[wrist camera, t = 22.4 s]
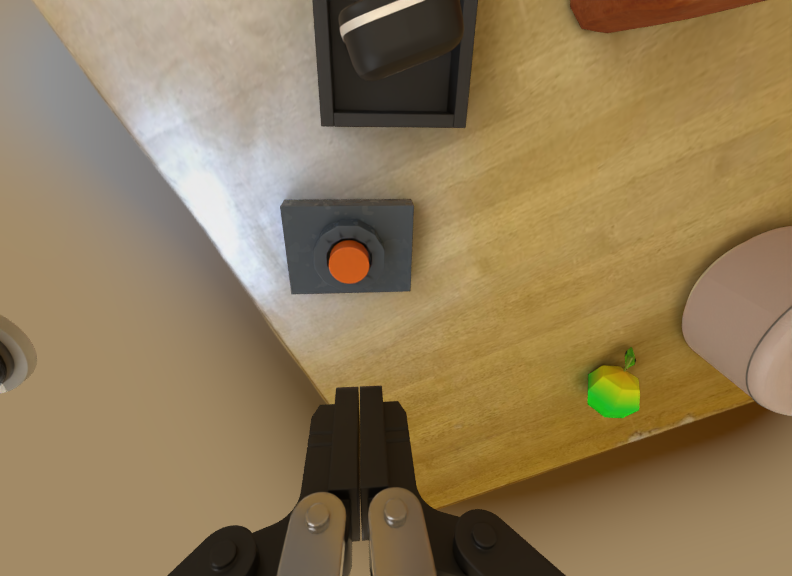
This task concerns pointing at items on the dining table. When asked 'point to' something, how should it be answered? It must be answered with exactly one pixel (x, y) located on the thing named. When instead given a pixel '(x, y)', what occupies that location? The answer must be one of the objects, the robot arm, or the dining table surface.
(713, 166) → the dining table surface
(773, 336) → the container
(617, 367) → the apple
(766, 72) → the dining table surface
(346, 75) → the dock
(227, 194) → the dining table surface
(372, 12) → the battery charger
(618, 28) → the bread
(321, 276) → the switch box
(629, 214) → the dining table surface
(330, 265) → the power button
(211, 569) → the robot arm
